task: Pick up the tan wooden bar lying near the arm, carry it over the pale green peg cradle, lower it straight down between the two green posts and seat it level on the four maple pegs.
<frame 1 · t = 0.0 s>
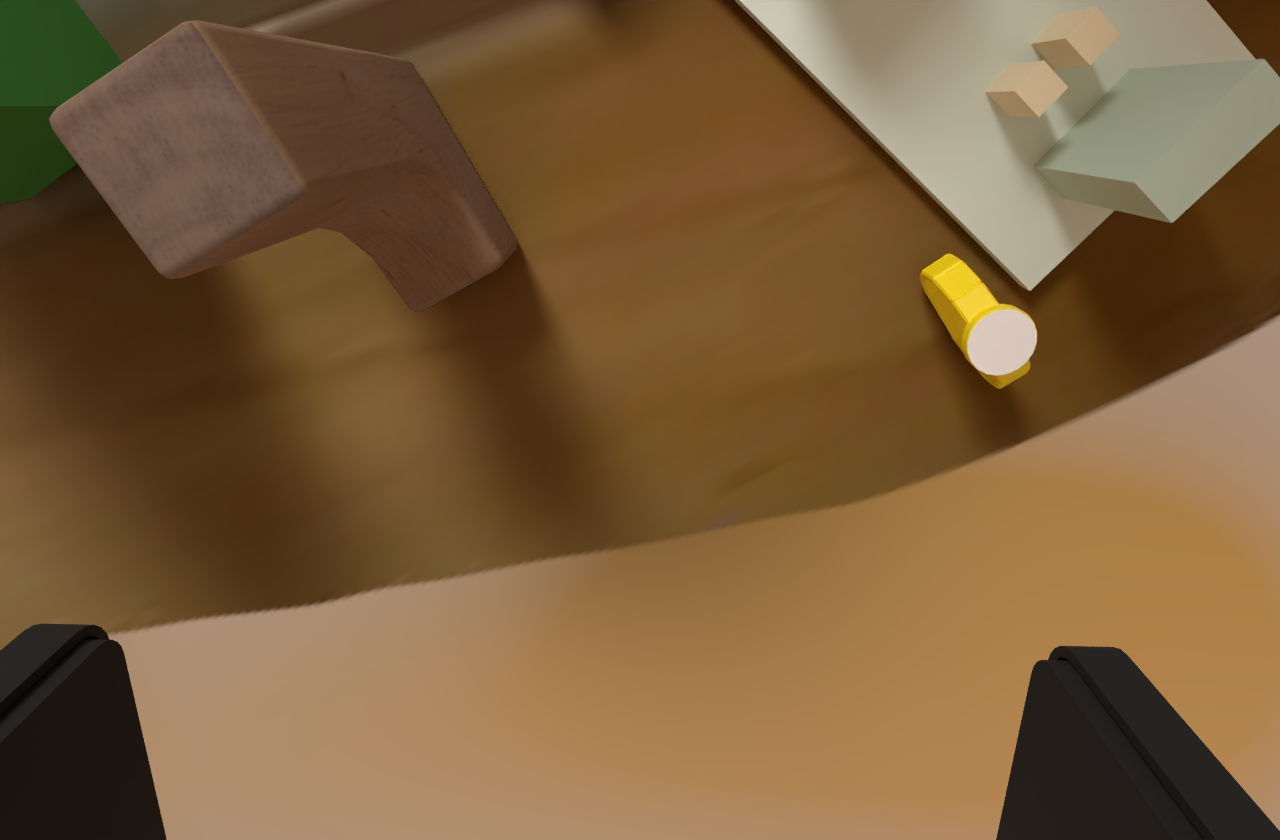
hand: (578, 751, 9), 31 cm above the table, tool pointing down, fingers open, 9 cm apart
wooden block: (425, 180, 37), on the table
watch: (951, 306, 39), on the table
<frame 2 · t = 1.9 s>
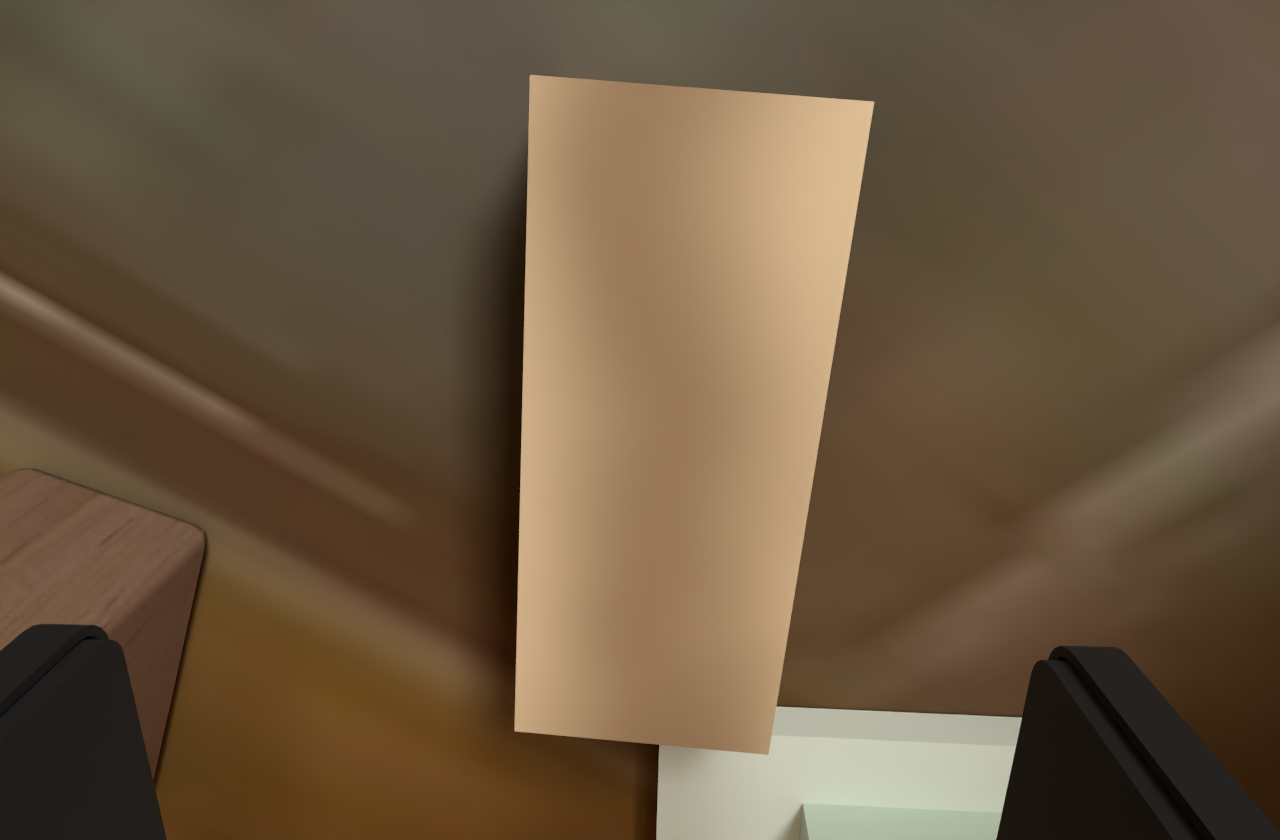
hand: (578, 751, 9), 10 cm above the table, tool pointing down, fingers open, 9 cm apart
wooden block: (99, 637, 21), on the table
tan wooden bar: (670, 388, 18), on the table
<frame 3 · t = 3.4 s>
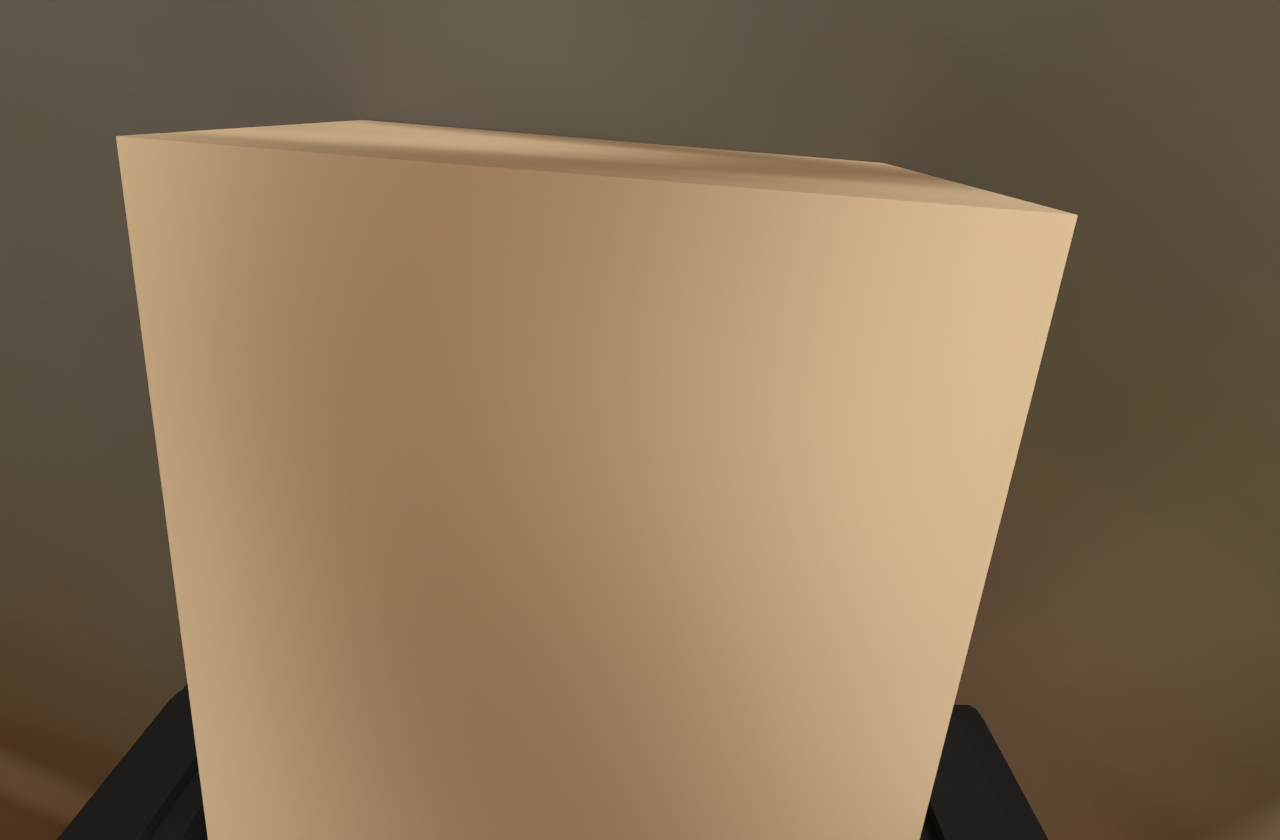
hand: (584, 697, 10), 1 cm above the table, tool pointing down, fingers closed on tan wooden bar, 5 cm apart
tan wooden bar: (588, 663, 10), on the table, touching gripper
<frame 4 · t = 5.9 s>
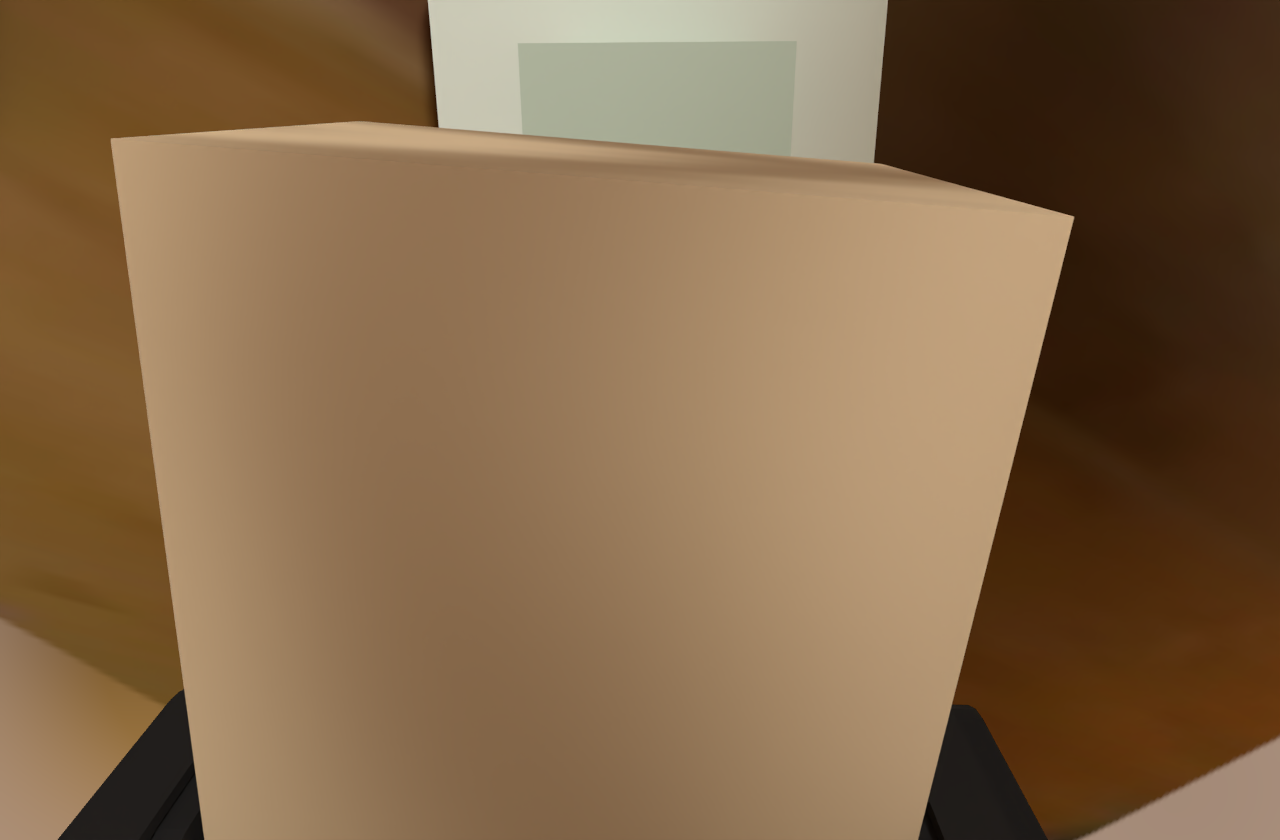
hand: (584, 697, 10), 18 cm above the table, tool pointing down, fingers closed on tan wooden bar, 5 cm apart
peg cradle: (656, 370, 27), on the table
tan wooden bar: (587, 664, 10), point 17 cm above the table, touching gripper
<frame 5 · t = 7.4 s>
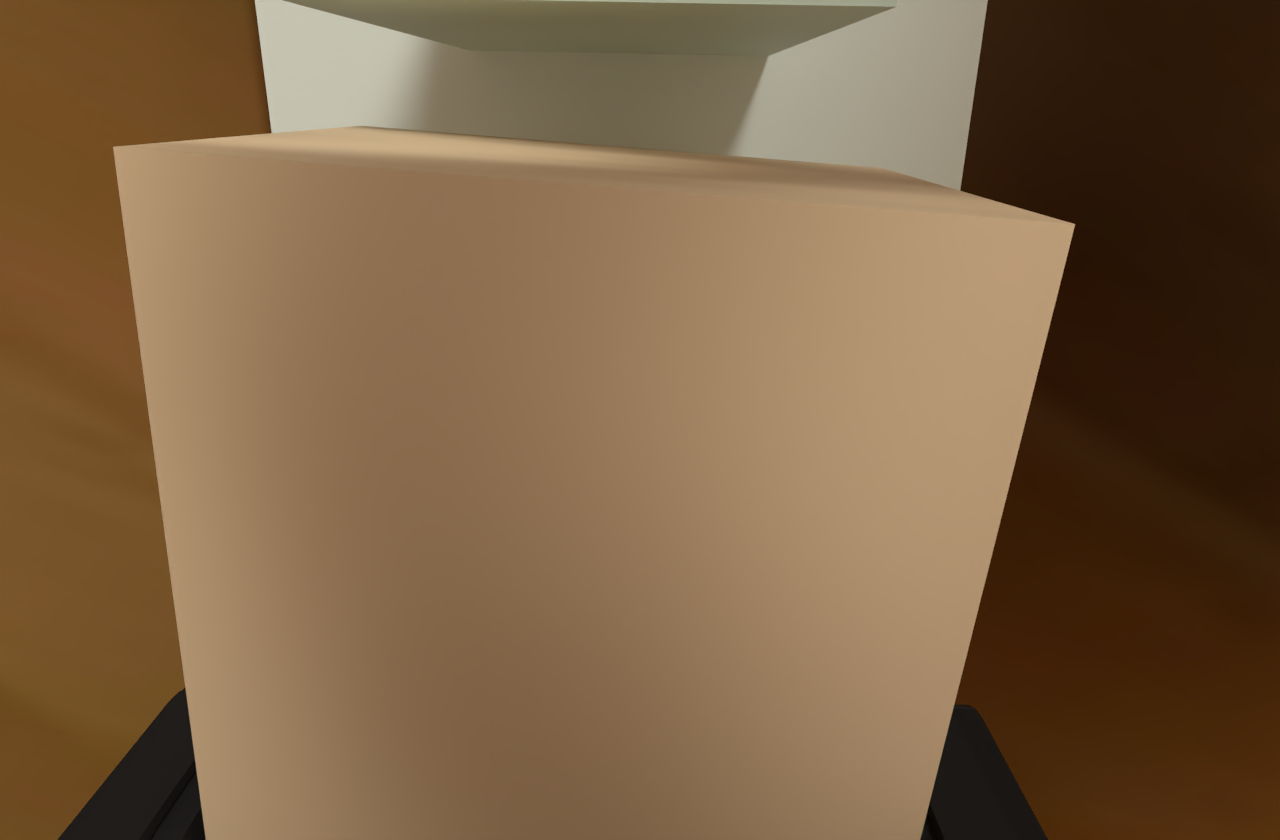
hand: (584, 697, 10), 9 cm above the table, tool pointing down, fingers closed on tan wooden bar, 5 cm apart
peg cradle: (617, 423, 18), on the table
tan wooden bar: (588, 667, 10), point 8 cm above the table, touching gripper
when the fingers open (5 cm above the table, at t = 8.4 s): tan wooden bar stays where it is, resting on peg cradle.
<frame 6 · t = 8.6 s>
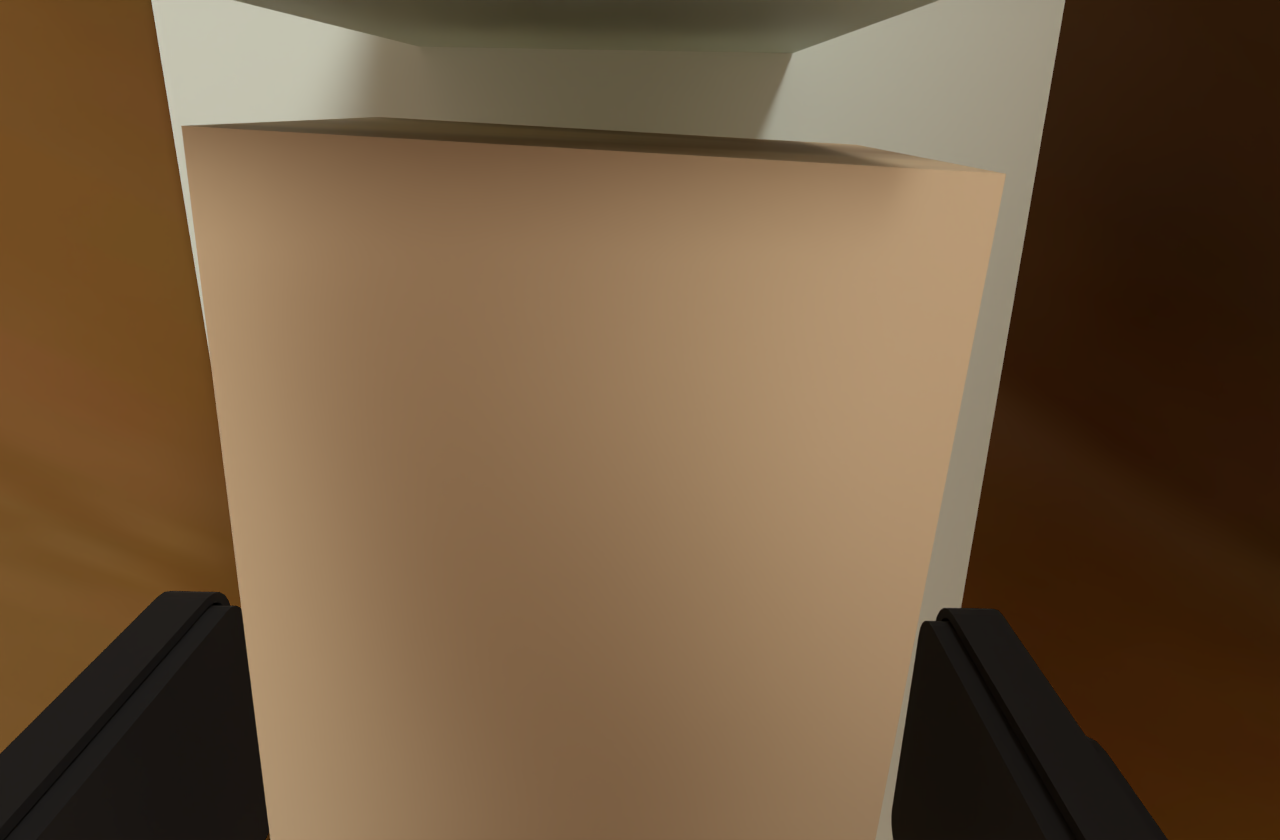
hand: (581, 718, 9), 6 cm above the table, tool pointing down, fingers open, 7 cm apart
peg cradle: (607, 493, 15), on the table
tan wooden bar: (597, 621, 11), point 4 cm above the table, touching peg cradle
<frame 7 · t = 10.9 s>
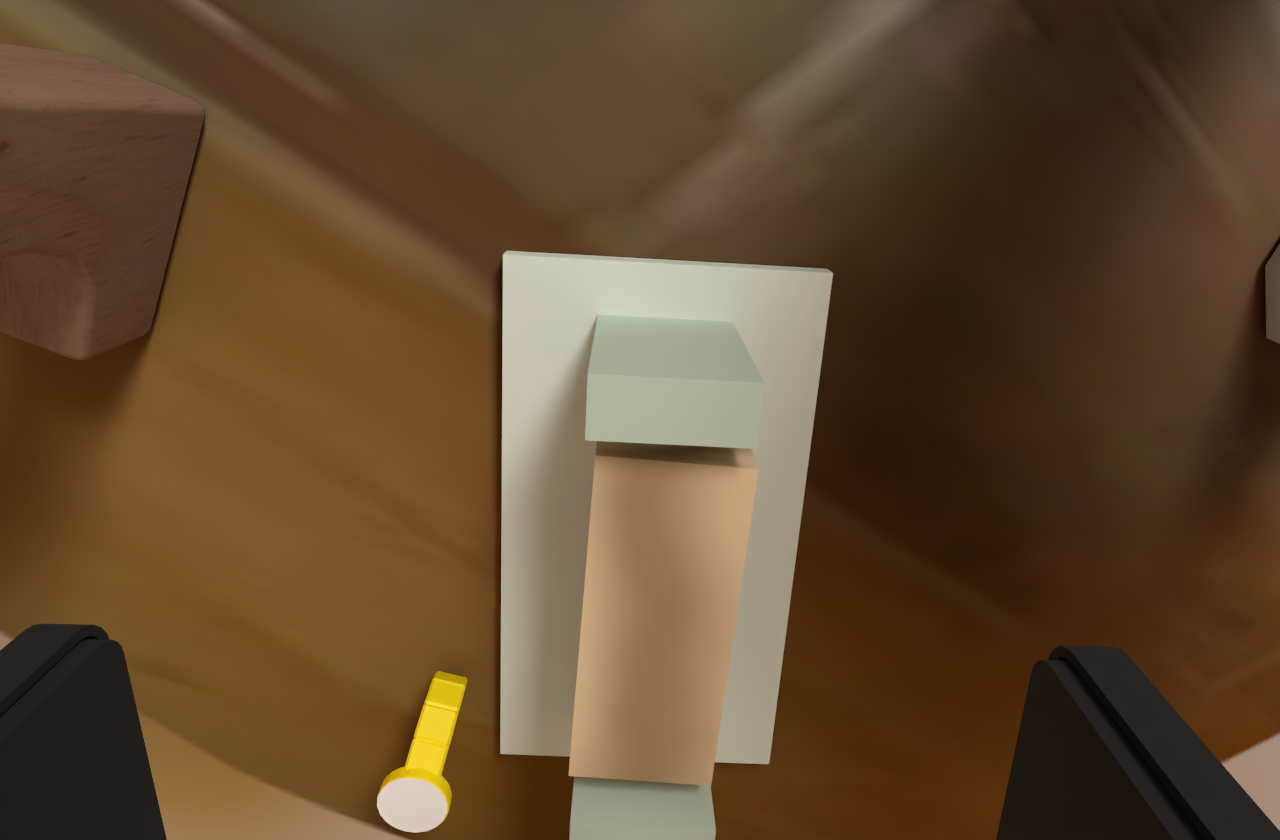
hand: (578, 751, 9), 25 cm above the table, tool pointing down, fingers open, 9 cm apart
wooden block: (123, 200, 31), on the table
peg cradle: (649, 526, 35), on the table
tan wooden bar: (654, 572, 32), point 4 cm above the table, touching peg cradle
watch: (445, 704, 38), on the table
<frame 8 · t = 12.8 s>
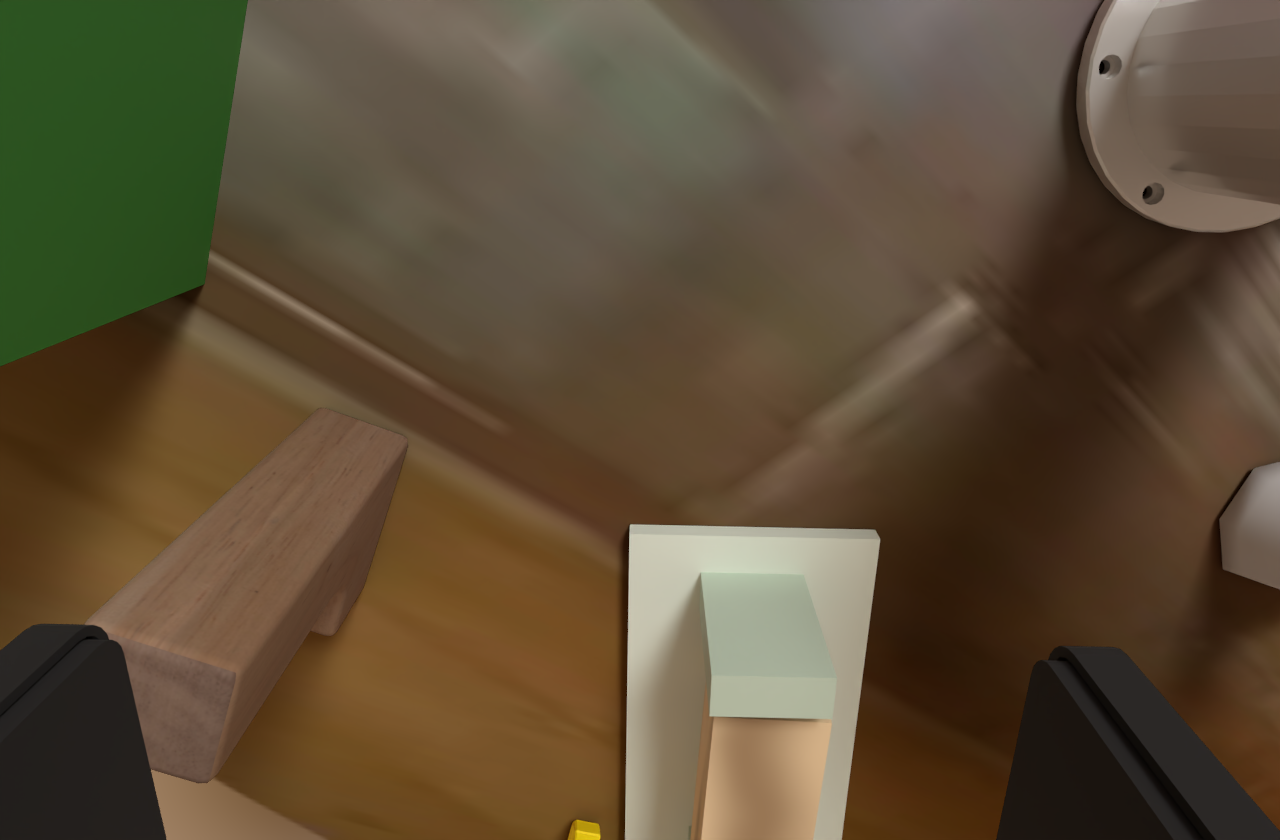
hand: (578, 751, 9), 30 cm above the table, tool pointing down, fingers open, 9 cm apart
wooden block: (344, 498, 42), on the table
green boxy piece: (147, 51, 35), on the table
peg cradle: (739, 711, 46), on the table
tan wooden bar: (748, 764, 42), point 4 cm above the table, touching peg cradle
watch: (579, 839, 49), on the table
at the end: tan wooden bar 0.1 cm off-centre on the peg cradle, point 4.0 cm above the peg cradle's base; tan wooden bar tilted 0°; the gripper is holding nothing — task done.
